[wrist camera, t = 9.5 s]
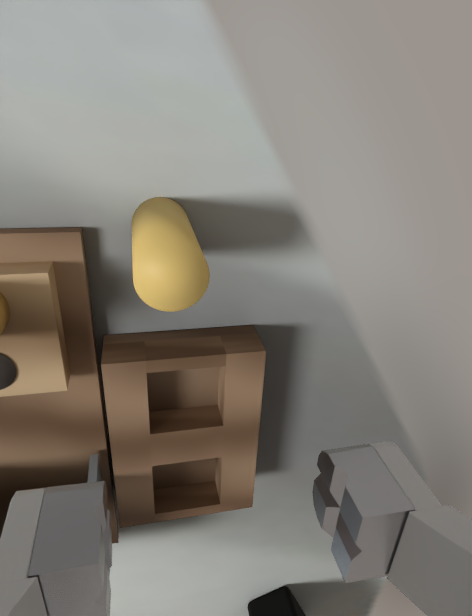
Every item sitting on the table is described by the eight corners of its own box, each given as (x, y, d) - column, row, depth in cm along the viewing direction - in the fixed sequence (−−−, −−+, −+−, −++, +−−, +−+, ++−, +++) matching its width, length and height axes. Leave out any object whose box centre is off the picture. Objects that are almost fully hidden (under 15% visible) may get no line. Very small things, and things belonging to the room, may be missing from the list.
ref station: (118, 532, 34) (116, 613, 29) (-26, 555, 32) (-55, 646, 27) (81, 227, 23) (68, 270, 18) (-144, 231, 21) (-232, 282, 16)
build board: (242, 473, 34) (252, 507, 31) (120, 490, 32) (120, 527, 29) (253, 324, 28) (266, 350, 25) (103, 335, 26) (100, 364, 23)
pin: (188, 251, 24) (208, 309, 18) (133, 253, 24) (135, 313, 18) (188, 197, 23) (210, 240, 17) (130, 197, 22) (130, 242, 16)
